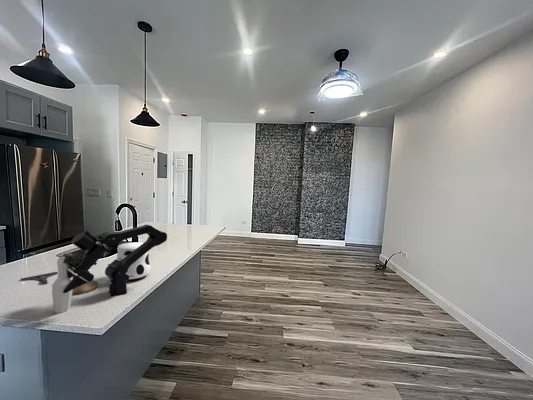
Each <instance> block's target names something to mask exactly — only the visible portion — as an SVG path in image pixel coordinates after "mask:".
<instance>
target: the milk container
mask: <svg viewBox="0 0 533 400" xmlns="http://www.w3.org/2000/svg"><path fill="white" fill-rule="evenodd" d="M143 243H144V242H139V241H138V242H137V241H136V242H125V243H120V244H118V245H117V248H116V249H117V250H116V259H117V260H119V261H120V260H122V259H124V258H125V257H126V256H128V255H129V254H130V253H132V252H133V251H134V250H135V249H137V248H138V247H139V246H141V245H142V244H143ZM149 251H150V250H149ZM149 251H148V252H147V253H145V254H144V255H143V256H142V257H140V258H139V259H138V260H137V261H136V262H134V263H133V264H132V265H131V266H130V267H129V269H128V271H127V272H126V273H125V274H127V275H128V276H129V280H128V281H134V280H139V279H143V278H144V277H147V276H148V275H149V274H150V271H151V270H150V269H151V263H150V260H149V257H150V255H149V254H150V252H149Z"/></svg>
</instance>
